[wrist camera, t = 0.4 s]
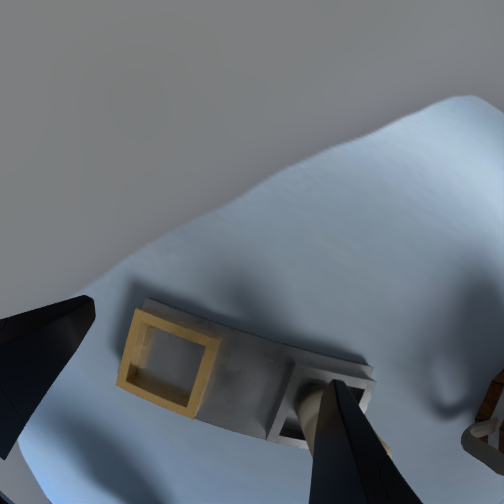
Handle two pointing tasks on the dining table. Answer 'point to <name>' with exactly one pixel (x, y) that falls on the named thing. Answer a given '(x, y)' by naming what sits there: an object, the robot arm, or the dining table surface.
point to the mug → (488, 428)
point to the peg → (315, 415)
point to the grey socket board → (228, 373)
